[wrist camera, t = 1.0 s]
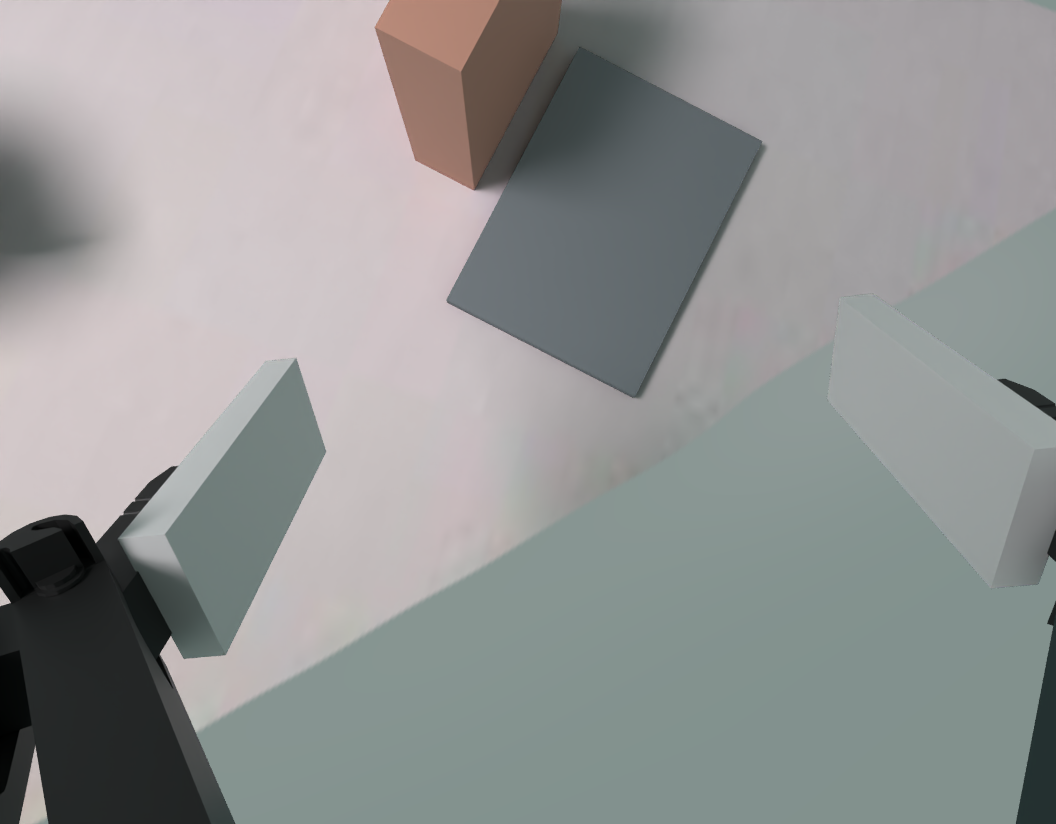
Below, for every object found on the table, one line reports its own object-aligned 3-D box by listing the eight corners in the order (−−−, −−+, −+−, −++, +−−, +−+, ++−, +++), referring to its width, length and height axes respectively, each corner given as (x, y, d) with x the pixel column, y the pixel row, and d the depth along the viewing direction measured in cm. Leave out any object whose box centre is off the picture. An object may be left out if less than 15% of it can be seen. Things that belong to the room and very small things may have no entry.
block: (415, 160, 31) (375, 27, 21) (499, 3, 32) (498, -198, 22) (474, 190, 31) (461, 71, 21) (557, 33, 32) (582, -154, 22)
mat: (447, 302, 31) (446, 299, 30) (578, 54, 32) (579, 46, 31) (632, 397, 31) (635, 396, 30) (757, 147, 32) (762, 141, 31)
